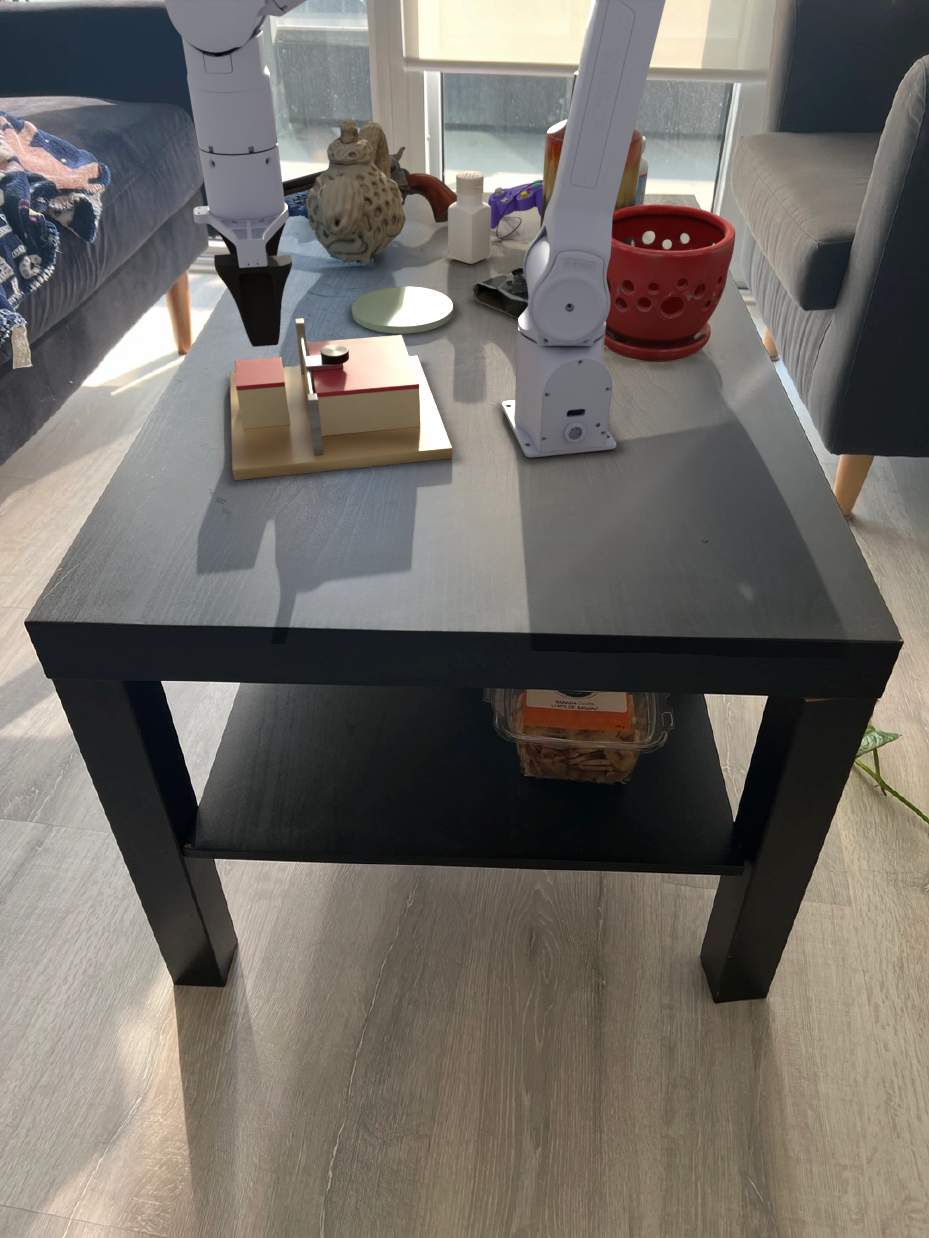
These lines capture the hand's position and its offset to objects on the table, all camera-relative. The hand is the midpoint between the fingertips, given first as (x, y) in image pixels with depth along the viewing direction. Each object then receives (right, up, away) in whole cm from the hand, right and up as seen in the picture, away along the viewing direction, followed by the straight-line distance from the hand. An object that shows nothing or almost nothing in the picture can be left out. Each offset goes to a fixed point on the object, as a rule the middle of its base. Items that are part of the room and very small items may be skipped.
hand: (263, 324), depth 77 cm
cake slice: (-1, -6, +5) cm, 8 cm away
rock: (-2, +38, +49) cm, 62 cm away
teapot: (+4, +20, +38) cm, 43 cm away
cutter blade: (+5, -5, +6) cm, 9 cm away
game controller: (+24, +27, +46) cm, 58 cm away
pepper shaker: (+17, +20, +37) cm, 46 cm away
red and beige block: (+8, -5, +6) cm, 11 cm away
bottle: (+37, +26, +45) cm, 64 cm away
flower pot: (+36, +4, +19) cm, 40 cm away
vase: (+31, +18, +36) cm, 51 cm away
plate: (+10, +9, +24) cm, 28 cm away
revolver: (+5, +25, +45) cm, 52 cm away
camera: (+22, +10, +26) cm, 36 cm away
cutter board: (+5, -6, +7) cm, 10 cm away
